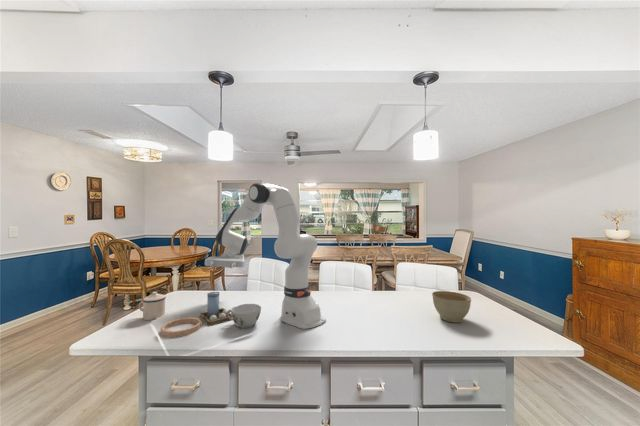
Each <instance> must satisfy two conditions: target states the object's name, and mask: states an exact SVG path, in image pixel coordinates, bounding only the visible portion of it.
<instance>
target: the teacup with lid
mask: <svg viewBox="0 0 640 426" xmlns="http://www.w3.org/2000/svg"><path fill="white" fill-rule="evenodd" d="M166 297H167V296H166V295H165V294H162V293H158V291H153V292H151V294H150V295H148V296H145V297H144V298H143V299H142V301H140V302H139V303H138V309H139V310H140V312H142V319H143V320H144V321H153V320H154V321H155V320H157V319H158V318H161V317H163V316H165V314H166V312H165V311H166Z"/></svg>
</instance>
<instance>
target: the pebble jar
mask: <svg viewBox="0 0 640 426" xmlns="http://www.w3.org/2000/svg"><path fill="white" fill-rule="evenodd" d="M206 305H207V309H206V310H207V311H206V312H207V318H208V319H210V317H211V316H212V315H215V316H216V317H217V318H218V317H219V309H220V292H219V291H211V292H210V291H209V292H208V293H207V304H206Z"/></svg>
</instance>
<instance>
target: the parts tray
mask: <svg viewBox="0 0 640 426" xmlns="http://www.w3.org/2000/svg"><path fill="white" fill-rule="evenodd" d="M224 310H226V309H225V308H219V315H220V314H221V313H222V312H223V311H224ZM229 316H230V317H231V318H232V315H231V312H230V313H229ZM200 318H201V320H202V321H204V322H205V324H207V325H208V326H213V325H217V324H221V323H224V322H225V323H226V322H229V321H231V320H230V319H229V318H228V316H227V317H225V318H221V319H219V317H218V318H217V320H213V321H210V320H209V319H208V318H207V311H206V312H201V313H199V319H200Z"/></svg>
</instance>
